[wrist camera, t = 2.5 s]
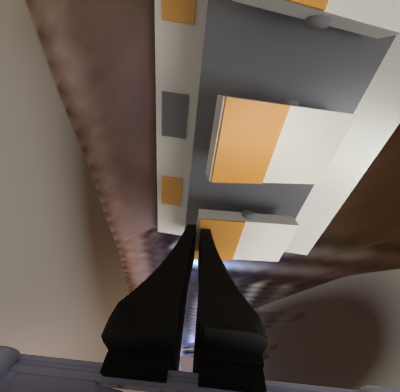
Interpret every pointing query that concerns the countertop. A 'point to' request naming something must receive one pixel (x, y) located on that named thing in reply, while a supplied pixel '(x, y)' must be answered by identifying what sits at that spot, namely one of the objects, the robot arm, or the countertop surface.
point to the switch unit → (271, 92)
